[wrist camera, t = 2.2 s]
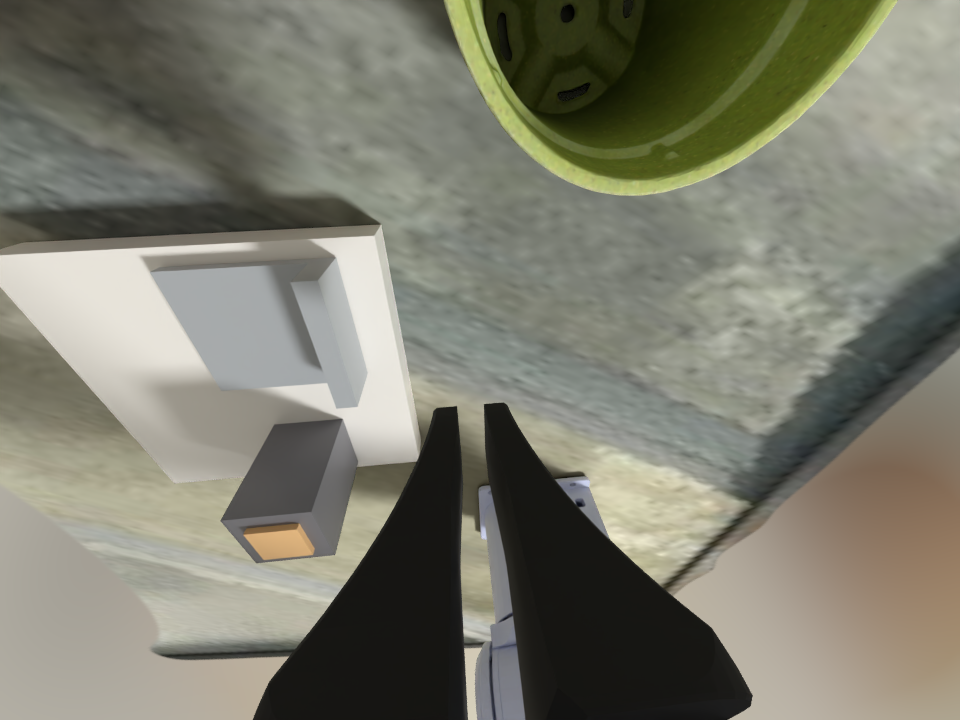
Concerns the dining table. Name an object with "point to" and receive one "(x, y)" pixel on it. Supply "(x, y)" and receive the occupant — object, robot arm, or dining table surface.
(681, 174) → the plant pot
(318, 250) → the socket board
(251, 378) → the shutter
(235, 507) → the grey rectangular block
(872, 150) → the dining table surface
